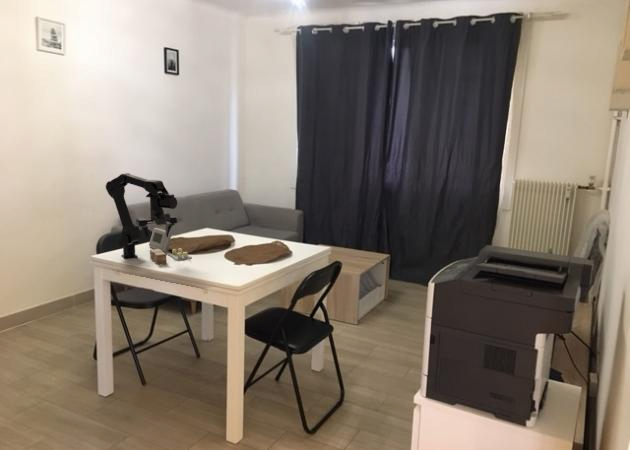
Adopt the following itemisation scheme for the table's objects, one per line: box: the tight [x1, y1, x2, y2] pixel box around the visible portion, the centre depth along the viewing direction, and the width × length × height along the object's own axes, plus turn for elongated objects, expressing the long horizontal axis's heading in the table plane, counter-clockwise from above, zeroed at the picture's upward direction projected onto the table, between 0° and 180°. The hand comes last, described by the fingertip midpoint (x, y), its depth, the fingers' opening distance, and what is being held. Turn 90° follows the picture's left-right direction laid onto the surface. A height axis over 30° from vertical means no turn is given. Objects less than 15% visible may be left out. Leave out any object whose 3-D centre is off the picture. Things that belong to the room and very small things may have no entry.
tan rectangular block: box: [149, 248, 167, 266], centre depth 249 cm, size 12×4×5 cm, turn 33°
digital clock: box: [148, 227, 173, 253], centre depth 271 cm, size 16×9×11 cm, turn 35°
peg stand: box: [168, 248, 192, 261], centre depth 258 cm, size 12×8×3 cm, turn 34°
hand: (157, 238), depth 247 cm, fingers open, 9 cm apart
